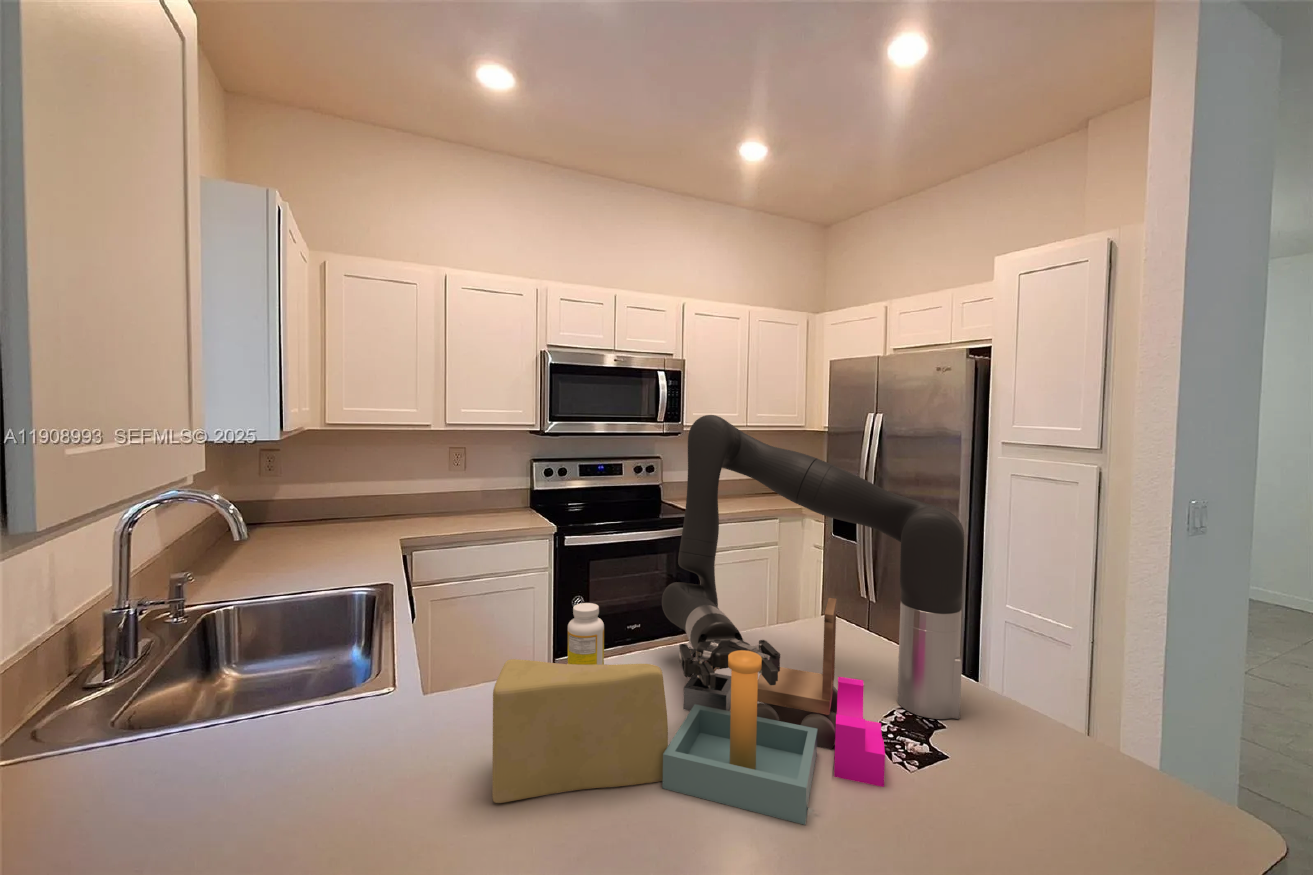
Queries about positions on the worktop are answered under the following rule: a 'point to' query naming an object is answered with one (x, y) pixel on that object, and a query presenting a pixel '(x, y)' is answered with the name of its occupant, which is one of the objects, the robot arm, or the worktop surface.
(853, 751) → the toy block
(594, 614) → the supplement bottle
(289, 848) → the worktop surface
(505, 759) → the cheese
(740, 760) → the pin
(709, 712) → the tray
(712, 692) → the pin socket
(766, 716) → the trolley
